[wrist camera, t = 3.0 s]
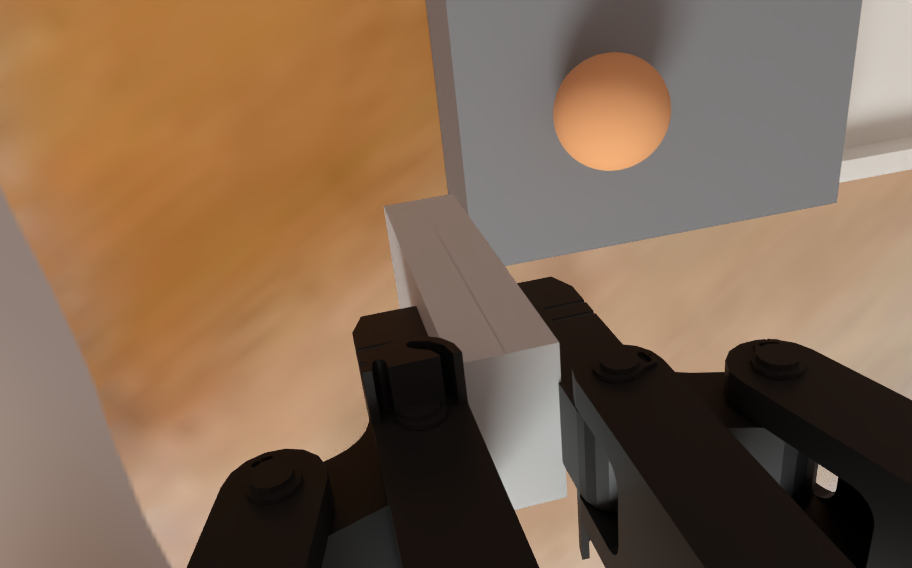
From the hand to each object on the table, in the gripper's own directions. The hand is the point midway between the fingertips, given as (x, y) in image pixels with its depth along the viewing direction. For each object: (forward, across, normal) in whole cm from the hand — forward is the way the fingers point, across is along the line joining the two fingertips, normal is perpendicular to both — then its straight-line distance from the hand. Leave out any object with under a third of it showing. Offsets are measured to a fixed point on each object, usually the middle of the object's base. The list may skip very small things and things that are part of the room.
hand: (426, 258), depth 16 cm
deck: (+15, -11, 0) cm, 19 cm away
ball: (+9, -8, 0) cm, 13 cm away
